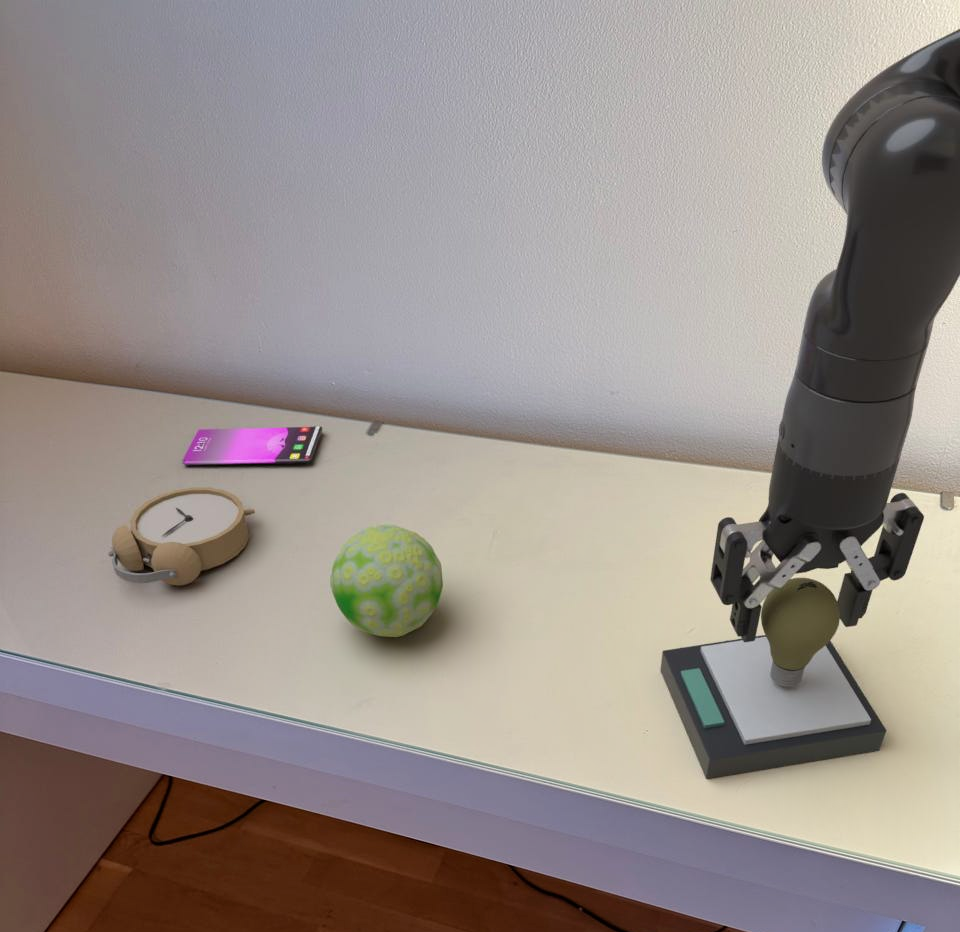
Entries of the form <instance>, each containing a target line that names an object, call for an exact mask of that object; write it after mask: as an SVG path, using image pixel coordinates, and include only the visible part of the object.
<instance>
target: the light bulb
mask: <svg viewBox="0 0 960 932" xmlns="http://www.w3.org/2000/svg"><path fill="white" fill-rule="evenodd" d="M837 600H838V599H837V598H836V596H835V594H834V593H833V591H831V589H830V588H828V586H826V585H825V584H824V583H822V582H820V581H819V580H816V579H813V578H808V577H793V578H790V579H789V581H788V582H787V583H786V584H785V585H784V586H783V587H782V588H780V589H777V588H775V589H773V590H772V591H771V592H770V593H769V594H768V596H767V597H766V598H765V599H764V600H763V603H762V605H761V606H762V608H761V613H760V621H761V627H762V630H763V633H764V635H766V637H767V639H768V641H769V644H770V652H771V656H772V659H773V662H772V666H771V672H770V676H771V678H772V680H773V681H774V682H775V683H777V684H779V685H781V686H785V687H792V686H795V685H797V684H799V683H800V682H801V680H802V676H803V672H804V668H805V667H806V665H807V664H808V663H809V662H810V661H811V659H812V657H813V656H814V654H816V653H817V652H818V651H819V650H820V649H822V648H823V647H824V646H825V645H826V644H827V643H828V642H829V641H832V639H833V638H834V636H835V634H836V633H837V631H838V628H839V625H840V621H841V620H840V610H839V605H838V602H837Z"/></svg>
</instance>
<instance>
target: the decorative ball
mask: <svg viewBox="0 0 960 932" xmlns="http://www.w3.org/2000/svg"><path fill="white" fill-rule="evenodd" d="M329 577H330V579H329V581H330V582H329V583H330V589H331V592H332V595H333V598H334V600H335V603H336V606H337V607H338V609H339V610H340V612H341V613H342V615H343V616H344V617H345V619H346V620H347V621H348V622H349V623H350V624H351V625H352V626H353V627H354V628H355V629H356V630H358V631H360V632H363V633H367V634H370V635H372V636H378V637H388V638H399V637H402V636H405V635H406V634H408V633H411V632H413V631H414V630H417V629H419V628H421V627H422V626H423V625H424V624H425V623H426V621H428V619H430V617H431V616H432V615H433V614H434V612H435V611H436V608H437V607H438V604H439V602H440V598H441V595H442V590H443V587H444V583H443V582H444V581H443V568H442V563H441V560H440V559H439V557H438V556H437V554H436V552H435V550H434V548H433V546H432V545H431V544H430V543H429V542H428V541H427V540H426V539H425V538H424V537H422V536H421V535H420V534H419V533H417V532H415V531H412V530H409V529H406V528H403V527H400V526H398V525H395V524H380V525H376V526H369V527H367V528H363V529H362V530H360V531H359V532H357V533H356V534H355V535H353V536H352V537H350V538H349V539H348V540H346V542H345V543H344V544H343V546H342V547H341V549H340V551H339V552H338V555H337V556H336V558H335V560H334V561H333V563H332V567H331V573H330V576H329Z"/></svg>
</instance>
